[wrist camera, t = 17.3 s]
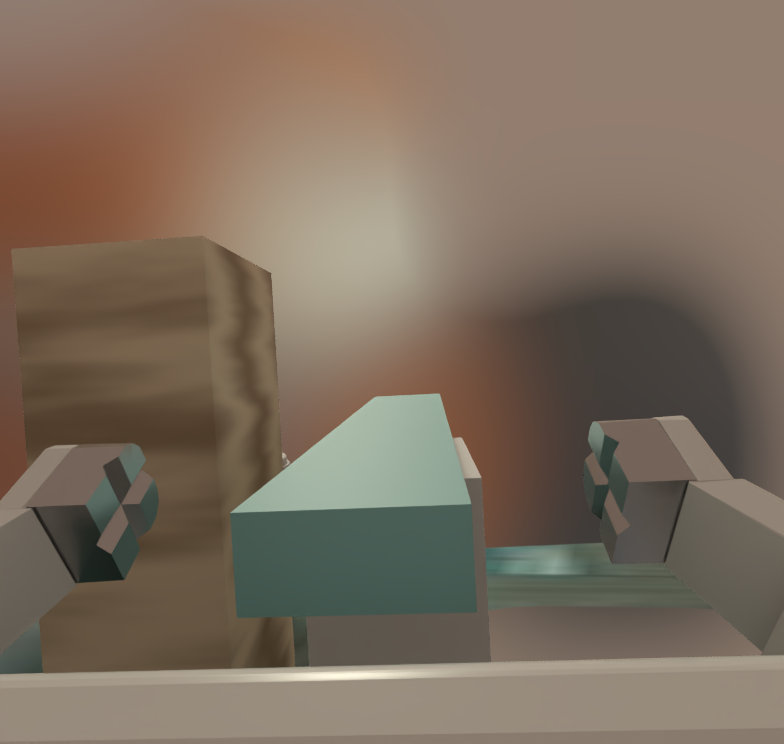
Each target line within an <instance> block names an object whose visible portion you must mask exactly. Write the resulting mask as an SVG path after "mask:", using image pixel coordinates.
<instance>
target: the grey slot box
mask: <svg viewBox="0 0 784 744" xmlns="http://www.w3.org/2000/svg"><path fill="white" fill-rule="evenodd" d="M453 442H454V445H455V449H456V452H457V456H458V459H459V463H460V466H461V470H462V473H463V477H464V480H465V484H466V487H467V490H468V494H469V497H470V501H471V505H472V525H473V544H474V564H475V583H476V603H477V612H475V613H432V614H388V615H344V616H306V620H307V636H308V653H309V667H322V666H362V665H402V664H441V663H482V662H491V656H490V636H489V616H488V597H487V577H486V557H485V540H484V539H485V538H484V518H483V498H482V480H481V476H480V474H479V472H478V470H477V468H476V466H475V464H474V462H473V460H472V458H471V456H470V454H469V452H468V449H467V447H466V445H465V443H464V442H463V439H462V438H453Z"/></svg>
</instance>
